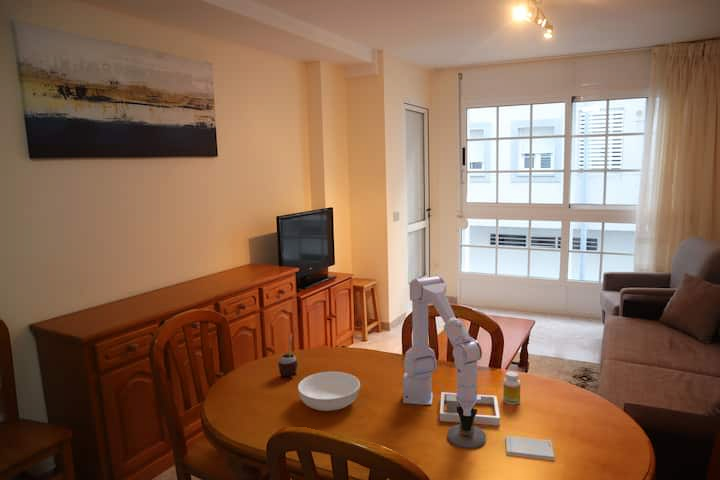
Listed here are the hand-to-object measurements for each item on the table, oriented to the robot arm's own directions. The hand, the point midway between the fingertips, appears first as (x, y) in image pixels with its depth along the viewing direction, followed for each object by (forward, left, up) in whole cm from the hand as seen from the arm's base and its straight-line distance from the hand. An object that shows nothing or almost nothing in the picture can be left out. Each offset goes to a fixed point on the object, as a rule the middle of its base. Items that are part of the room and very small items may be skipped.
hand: (466, 426), depth 143 cm
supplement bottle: (+15, +24, -4) cm, 29 cm away
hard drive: (+17, -3, -4) cm, 18 cm away
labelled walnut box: (0, 0, -2) cm, 2 cm away
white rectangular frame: (+1, +15, -4) cm, 15 cm away
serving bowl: (-45, +14, -4) cm, 47 cm away
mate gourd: (-66, +32, -4) cm, 73 cm away
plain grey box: (-4, +13, -4) cm, 14 cm away
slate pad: (0, 0, -4) cm, 4 cm away
